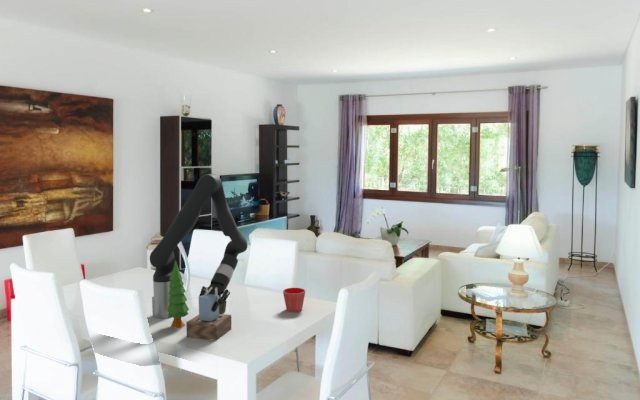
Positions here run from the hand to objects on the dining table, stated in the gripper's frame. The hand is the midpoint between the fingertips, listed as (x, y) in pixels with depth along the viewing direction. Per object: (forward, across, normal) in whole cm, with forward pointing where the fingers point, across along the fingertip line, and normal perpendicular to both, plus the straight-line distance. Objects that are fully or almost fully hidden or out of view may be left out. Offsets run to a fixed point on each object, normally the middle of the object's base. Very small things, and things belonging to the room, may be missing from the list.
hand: (206, 309), depth 223 cm
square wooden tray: (+7, 0, +9) cm, 11 cm away
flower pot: (-25, +17, +41) cm, 51 cm away
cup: (-7, -9, +22) cm, 25 cm away
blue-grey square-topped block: (+2, 0, +4) cm, 5 cm away
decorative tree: (+6, -18, +10) cm, 21 cm away
